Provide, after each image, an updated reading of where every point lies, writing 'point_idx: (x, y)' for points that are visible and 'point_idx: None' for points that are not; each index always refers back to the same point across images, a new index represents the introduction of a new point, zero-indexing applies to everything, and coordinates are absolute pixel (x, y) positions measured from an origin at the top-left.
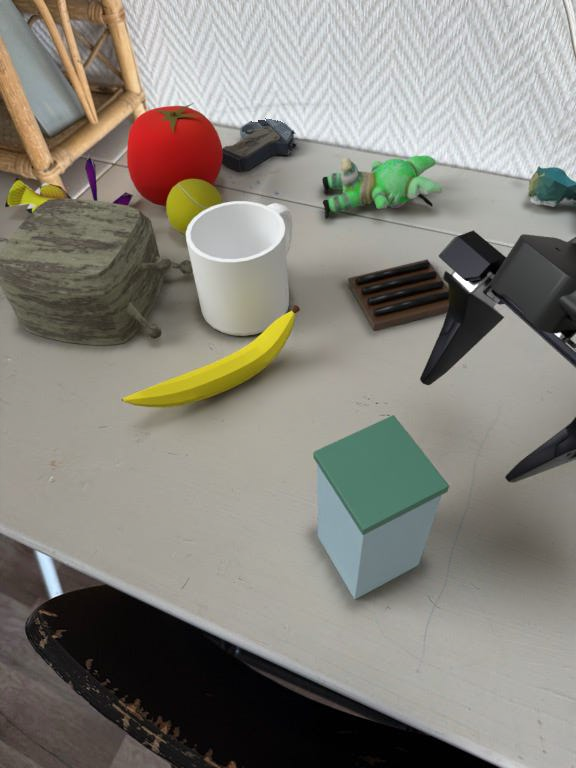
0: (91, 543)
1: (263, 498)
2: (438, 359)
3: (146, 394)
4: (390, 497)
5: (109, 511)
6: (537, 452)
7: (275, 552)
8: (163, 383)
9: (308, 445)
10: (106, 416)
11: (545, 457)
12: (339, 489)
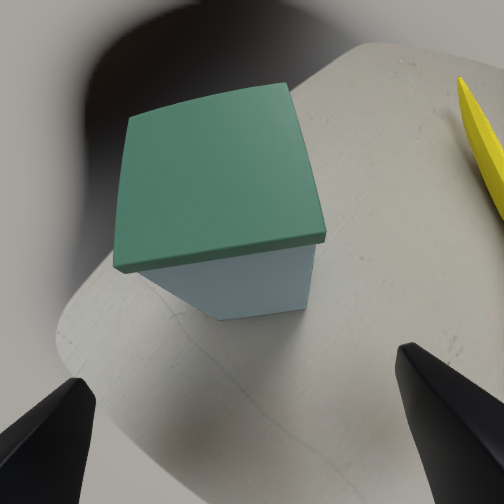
0: (341, 70)
1: (355, 187)
2: (439, 392)
3: (468, 95)
4: (146, 159)
5: (367, 81)
6: (26, 431)
7: None
8: (483, 115)
9: (412, 255)
10: (458, 98)
11: (10, 431)
12: (200, 98)
